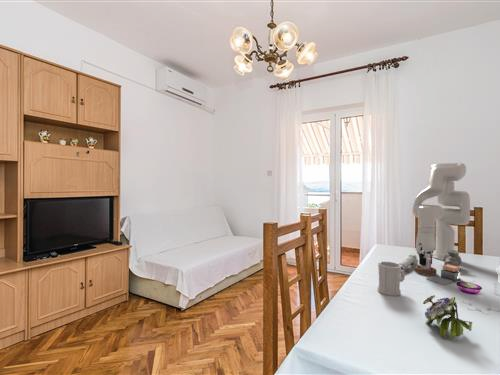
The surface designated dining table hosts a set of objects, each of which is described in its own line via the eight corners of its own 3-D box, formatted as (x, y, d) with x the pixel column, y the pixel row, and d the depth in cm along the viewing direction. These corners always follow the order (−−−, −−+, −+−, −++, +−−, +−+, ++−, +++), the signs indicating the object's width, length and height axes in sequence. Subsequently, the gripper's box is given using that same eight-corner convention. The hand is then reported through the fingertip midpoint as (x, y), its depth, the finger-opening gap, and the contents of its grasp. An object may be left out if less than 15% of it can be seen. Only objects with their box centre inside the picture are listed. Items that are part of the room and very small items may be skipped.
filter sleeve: (421, 269, 150) (421, 264, 150) (439, 273, 142) (439, 269, 142) (411, 271, 146) (411, 266, 146) (429, 276, 138) (429, 271, 138)
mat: (435, 276, 138) (435, 275, 138) (453, 282, 131) (453, 280, 131) (426, 279, 134) (426, 278, 134) (444, 284, 127) (444, 283, 127)
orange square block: (447, 274, 139) (448, 264, 138) (459, 277, 134) (459, 267, 134) (442, 275, 136) (442, 265, 136) (453, 279, 132) (454, 268, 132)
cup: (383, 285, 125) (383, 259, 125) (405, 291, 119) (405, 263, 118) (374, 291, 118) (374, 264, 118) (397, 298, 111) (397, 269, 111)
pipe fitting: (443, 263, 159) (445, 247, 157) (460, 267, 153) (462, 250, 152) (440, 271, 150) (442, 253, 148) (458, 275, 144) (460, 257, 143)
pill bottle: (431, 271, 141) (431, 255, 141) (420, 269, 143) (420, 253, 143) (430, 268, 145) (431, 253, 145) (420, 267, 147) (420, 251, 147)
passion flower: (429, 343, 91) (422, 300, 98) (476, 347, 85) (464, 302, 92) (426, 335, 82) (418, 290, 90) (478, 340, 76) (465, 290, 84)
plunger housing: (447, 275, 139) (447, 268, 139) (460, 279, 134) (461, 271, 134) (440, 277, 136) (441, 269, 136) (454, 281, 131) (454, 273, 131)
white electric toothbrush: (393, 264, 145) (409, 250, 162) (394, 276, 146) (409, 261, 163) (404, 267, 141) (419, 252, 158) (405, 279, 142) (419, 263, 159)
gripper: (427, 227, 151) (427, 260, 151) (409, 230, 143) (409, 264, 143) (442, 229, 144) (442, 263, 145) (424, 232, 136) (423, 268, 137)
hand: (425, 263), depth 144 cm, fingers closed on pill bottle, 4 cm apart
